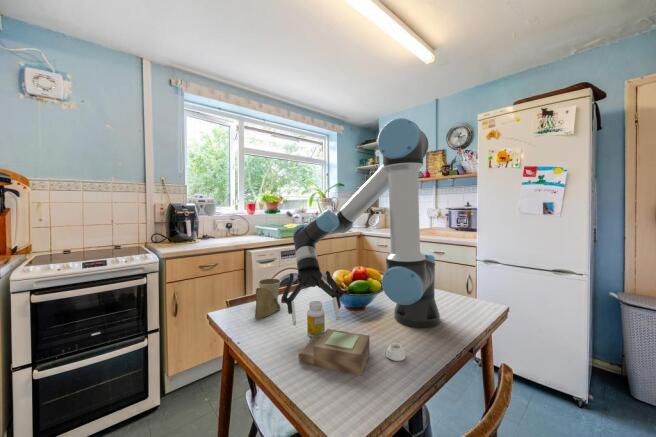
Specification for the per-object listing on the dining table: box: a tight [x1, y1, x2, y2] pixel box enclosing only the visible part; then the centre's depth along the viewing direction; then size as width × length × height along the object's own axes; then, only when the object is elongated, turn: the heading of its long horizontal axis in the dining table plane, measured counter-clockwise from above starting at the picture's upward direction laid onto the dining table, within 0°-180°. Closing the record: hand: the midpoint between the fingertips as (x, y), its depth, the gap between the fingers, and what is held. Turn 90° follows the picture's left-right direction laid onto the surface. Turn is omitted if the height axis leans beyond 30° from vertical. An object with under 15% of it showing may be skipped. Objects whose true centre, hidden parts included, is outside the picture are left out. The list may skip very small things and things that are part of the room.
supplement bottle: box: [306, 300, 326, 338], centre depth 85 cm, size 5×5×10 cm
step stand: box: [298, 328, 370, 377], centre depth 71 cm, size 16×10×5 cm, turn 70°
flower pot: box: [257, 278, 282, 301], centre depth 114 cm, size 9×9×9 cm
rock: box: [254, 287, 281, 321], centre depth 101 cm, size 11×9×10 cm
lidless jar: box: [385, 342, 407, 362], centre depth 72 cm, size 5×3×5 cm
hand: (316, 321), depth 83 cm, fingers open, 13 cm apart
